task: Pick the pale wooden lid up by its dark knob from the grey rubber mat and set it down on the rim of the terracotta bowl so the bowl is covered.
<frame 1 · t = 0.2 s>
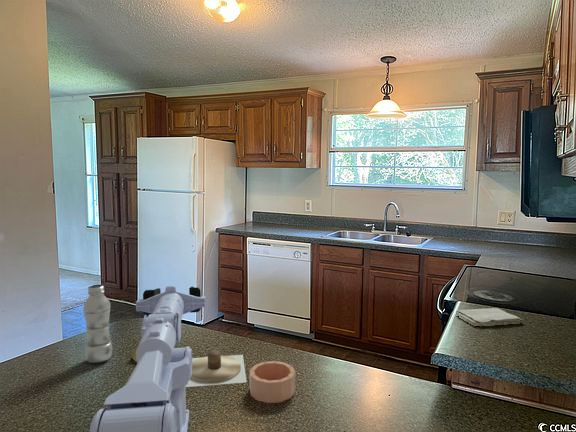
hand: (175, 291, 100), 21 cm above the countertop, tool horizontal, fingers open, 7 cm apart
bowl: (272, 392, 96), on the countertop
lid: (214, 369, 105), resting on mat
bread roll: (150, 358, 113), on the countertop
washcloth: (487, 321, 143), on the countertop
plastic bottle: (99, 361, 111), on the countertop
mat: (214, 371, 105), on the countertop
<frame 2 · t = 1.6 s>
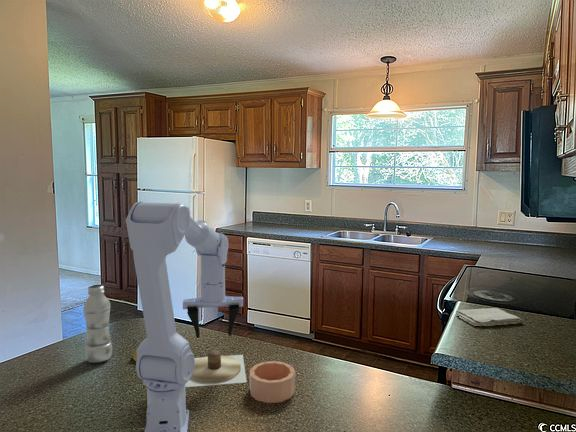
hand: (213, 335, 104), 9 cm above the countertop, tool pointing down, fingers open, 7 cm apart
nothing on the countertop moved.
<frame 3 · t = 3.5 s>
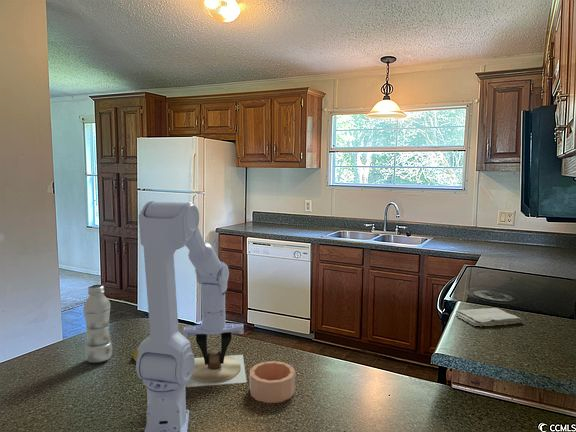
hand: (214, 362, 105), 2 cm above the countertop, tool pointing down, fingers closed on lid, 3 cm apart
lid: (214, 369, 105), resting on mat, touching gripper
everything else where it was.
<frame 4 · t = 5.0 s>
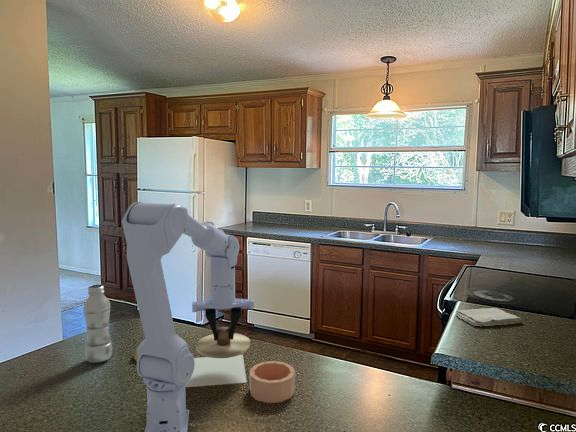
hand: (223, 338, 102), 9 cm above the countertop, tool pointing down, fingers closed on lid, 3 cm apart
lid: (223, 346, 103), point 7 cm above the countertop, touching gripper
everything else where it was.
when the fingers open (8 cm above the countertop, at t = 6.9 s): lid stays where it is, resting on bowl.
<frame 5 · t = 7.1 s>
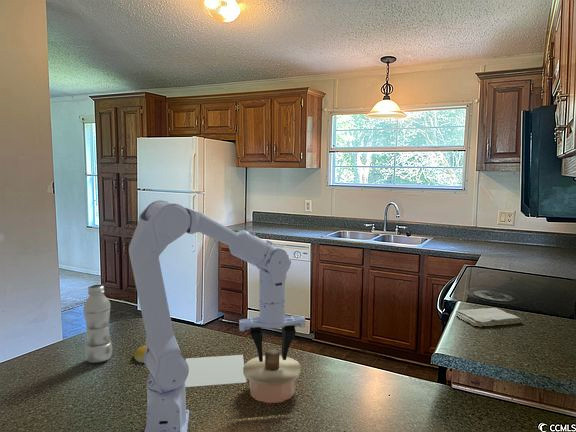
hand: (272, 359, 95), 8 cm above the countertop, tool pointing down, fingers open, 5 cm apart
lid: (272, 370, 95), point 5 cm above the countertop, touching bowl
everything else where it was.
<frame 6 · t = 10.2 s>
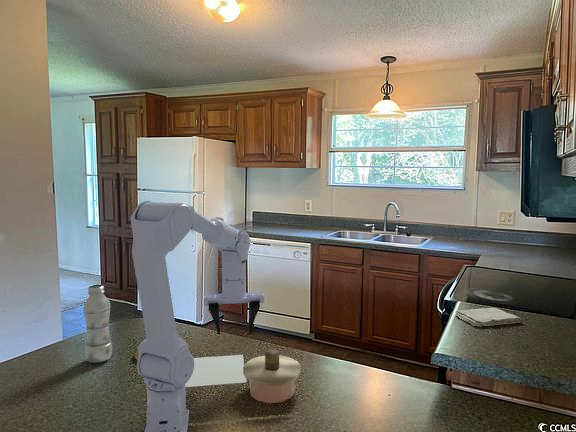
hand: (234, 331, 104), 10 cm above the countertop, tool pointing down, fingers open, 7 cm apart
nothing on the countertop moved.
at the end: lid 0.2 cm off-centre on the bowl, point 5.0 cm above the bowl's base; lid tilted 0°; the gripper is holding nothing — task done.
